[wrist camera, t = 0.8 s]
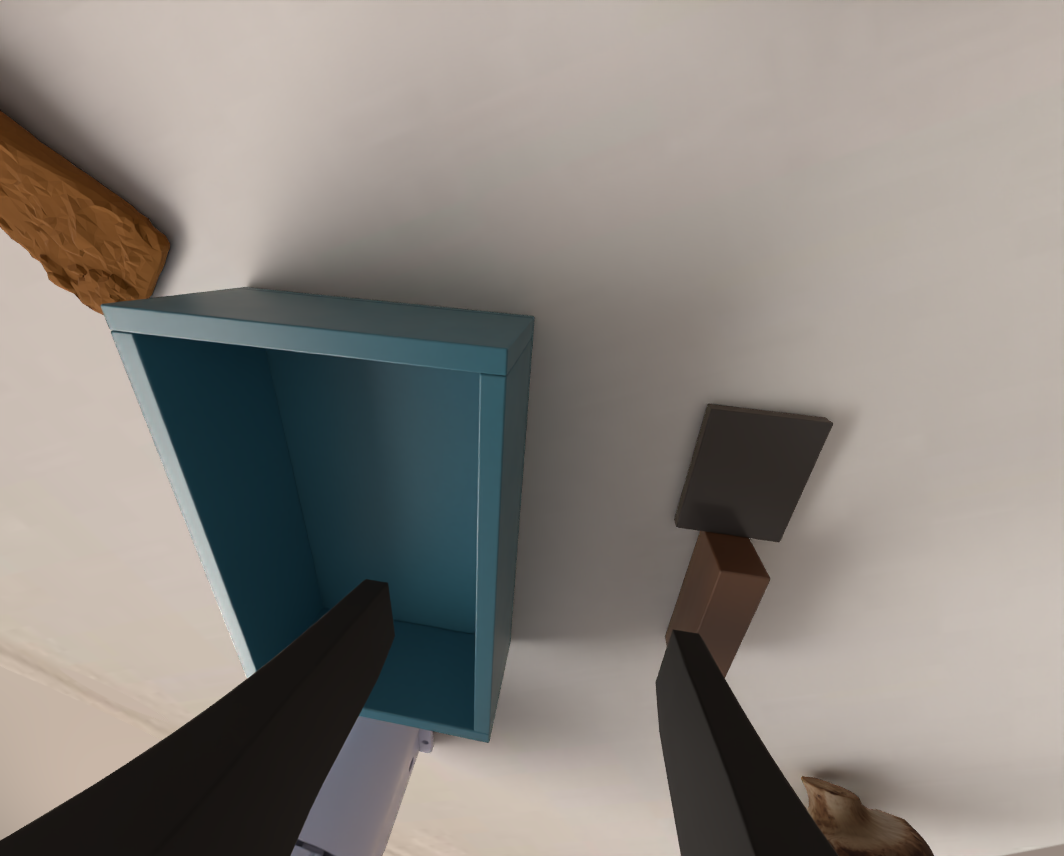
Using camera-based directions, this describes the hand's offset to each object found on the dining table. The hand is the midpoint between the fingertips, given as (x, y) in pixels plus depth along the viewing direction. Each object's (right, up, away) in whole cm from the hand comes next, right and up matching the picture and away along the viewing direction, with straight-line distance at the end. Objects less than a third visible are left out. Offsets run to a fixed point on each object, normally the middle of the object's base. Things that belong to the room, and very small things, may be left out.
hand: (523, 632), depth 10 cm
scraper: (+9, 0, +9) cm, 13 cm away
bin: (-7, +2, +10) cm, 12 cm away
